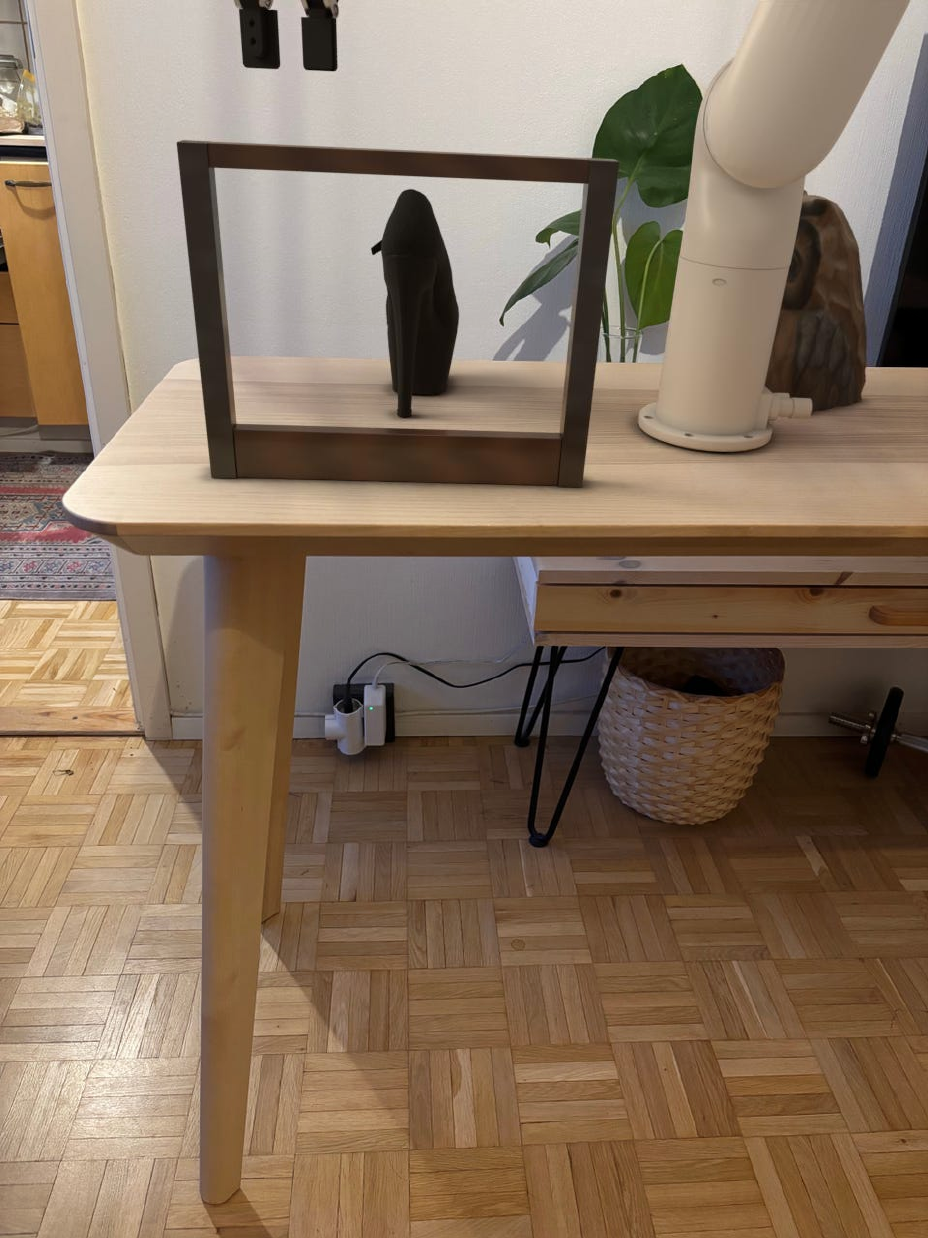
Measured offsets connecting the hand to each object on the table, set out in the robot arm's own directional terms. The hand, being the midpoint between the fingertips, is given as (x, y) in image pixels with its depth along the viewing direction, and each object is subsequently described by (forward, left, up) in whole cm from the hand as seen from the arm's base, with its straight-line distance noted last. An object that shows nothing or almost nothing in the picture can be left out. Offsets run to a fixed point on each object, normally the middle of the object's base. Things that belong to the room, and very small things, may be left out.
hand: (292, 69), depth 79 cm
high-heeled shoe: (-11, -2, -29) cm, 31 cm away
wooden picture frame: (-10, +21, -28) cm, 37 cm away
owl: (-53, -5, -29) cm, 60 cm away
